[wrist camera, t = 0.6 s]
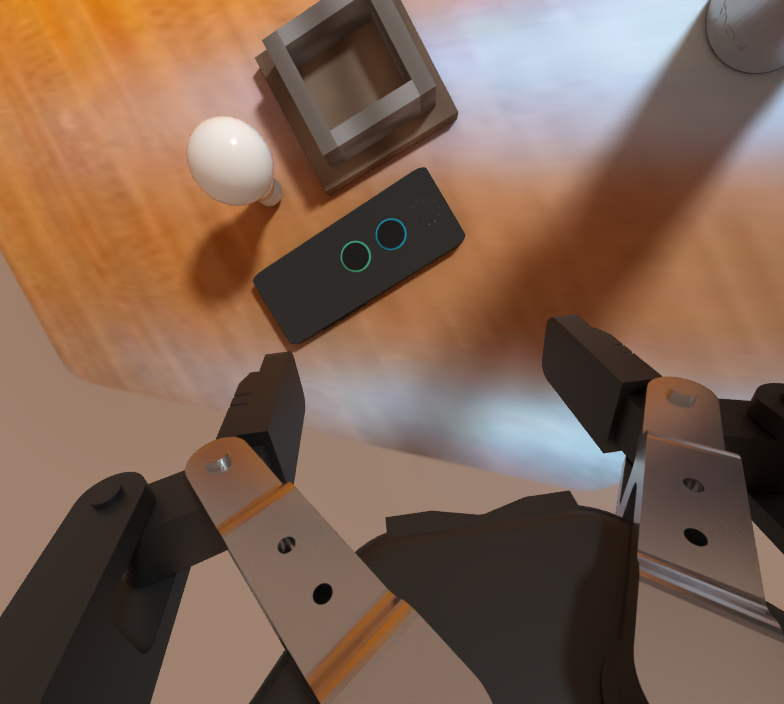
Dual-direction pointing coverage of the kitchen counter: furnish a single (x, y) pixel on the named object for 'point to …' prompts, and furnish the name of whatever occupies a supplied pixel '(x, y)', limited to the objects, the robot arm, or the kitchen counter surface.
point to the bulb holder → (354, 85)
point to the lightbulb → (232, 162)
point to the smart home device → (359, 257)
